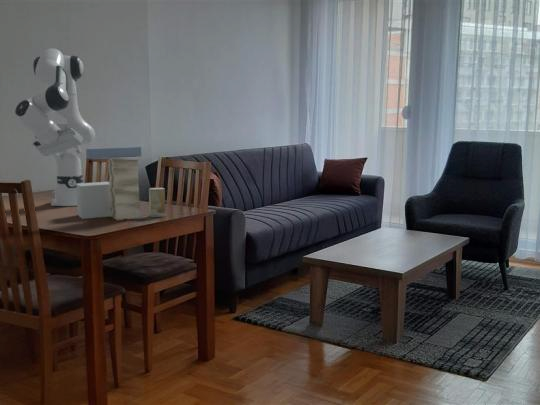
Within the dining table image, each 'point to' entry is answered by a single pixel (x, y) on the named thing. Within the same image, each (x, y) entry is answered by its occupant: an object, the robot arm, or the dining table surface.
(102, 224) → the dining table surface
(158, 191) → the skincare box
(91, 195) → the low block
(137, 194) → the pedestal
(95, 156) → the bar
